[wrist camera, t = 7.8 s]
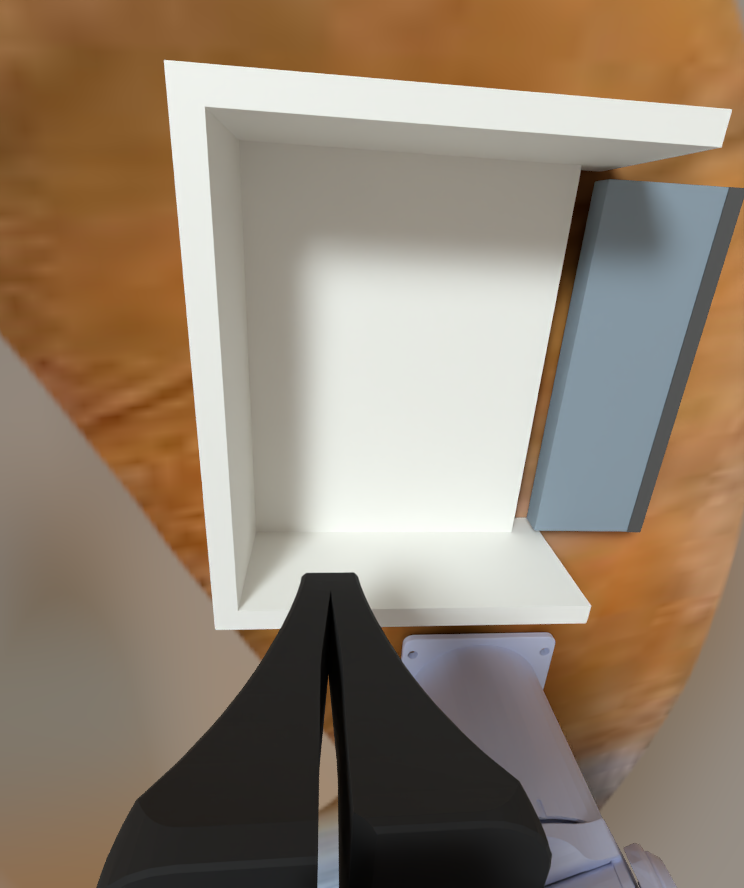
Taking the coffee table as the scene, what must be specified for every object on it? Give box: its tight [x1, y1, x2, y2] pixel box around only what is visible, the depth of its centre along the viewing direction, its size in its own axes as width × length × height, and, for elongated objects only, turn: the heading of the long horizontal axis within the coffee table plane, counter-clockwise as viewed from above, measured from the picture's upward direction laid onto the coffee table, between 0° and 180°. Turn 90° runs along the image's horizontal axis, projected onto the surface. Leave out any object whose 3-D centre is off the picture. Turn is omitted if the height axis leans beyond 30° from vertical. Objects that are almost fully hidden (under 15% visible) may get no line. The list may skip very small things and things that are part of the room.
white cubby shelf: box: [164, 60, 732, 630], centre depth 17 cm, size 16×13×6 cm
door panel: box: [527, 179, 744, 532], centre depth 20 cm, size 14×1×5 cm
